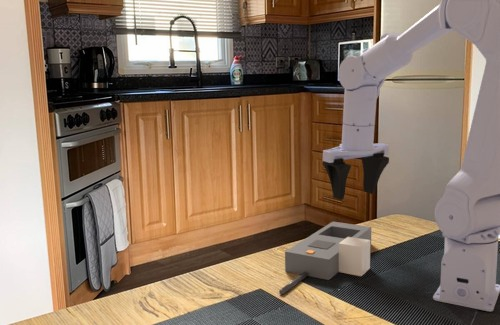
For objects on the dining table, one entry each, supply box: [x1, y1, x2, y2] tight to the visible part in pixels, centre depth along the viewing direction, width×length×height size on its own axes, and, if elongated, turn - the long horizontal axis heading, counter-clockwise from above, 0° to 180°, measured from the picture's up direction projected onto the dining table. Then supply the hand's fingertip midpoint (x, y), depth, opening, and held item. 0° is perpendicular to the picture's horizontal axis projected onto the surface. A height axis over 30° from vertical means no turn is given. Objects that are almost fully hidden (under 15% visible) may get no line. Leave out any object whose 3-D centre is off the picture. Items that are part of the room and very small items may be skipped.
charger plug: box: [338, 237, 371, 277], centre depth 86 cm, size 4×4×5 cm
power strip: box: [278, 221, 372, 295], centre depth 89 cm, size 29×8×4 cm, turn 147°
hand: (353, 195), depth 96 cm, fingers open, 7 cm apart
